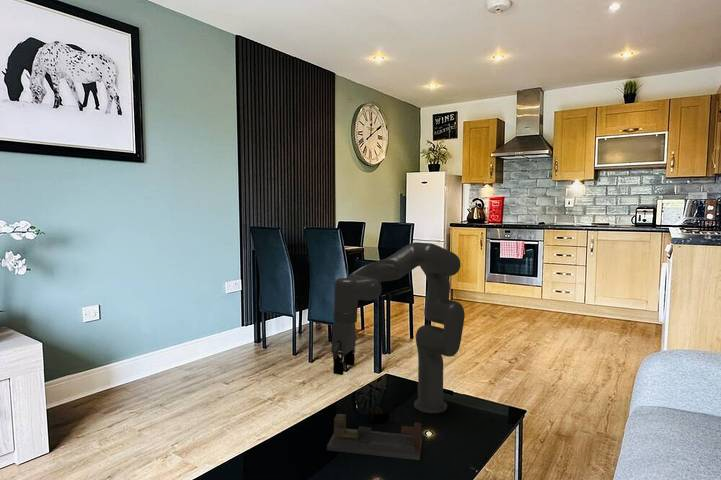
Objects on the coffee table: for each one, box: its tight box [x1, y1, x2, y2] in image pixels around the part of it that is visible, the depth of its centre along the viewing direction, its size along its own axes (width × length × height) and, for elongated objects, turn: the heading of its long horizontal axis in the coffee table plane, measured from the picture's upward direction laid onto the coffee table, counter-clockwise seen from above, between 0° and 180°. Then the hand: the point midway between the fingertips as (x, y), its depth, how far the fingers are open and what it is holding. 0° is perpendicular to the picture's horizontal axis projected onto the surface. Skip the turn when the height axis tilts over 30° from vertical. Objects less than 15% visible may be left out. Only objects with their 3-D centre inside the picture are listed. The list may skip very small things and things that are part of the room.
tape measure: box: [368, 406, 390, 423], centre depth 159 cm, size 7×7×4 cm
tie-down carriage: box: [333, 413, 372, 441], centre depth 142 cm, size 5×12×7 cm, turn 78°
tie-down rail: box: [326, 422, 423, 461], centre depth 140 cm, size 10×29×8 cm, turn 78°
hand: (344, 369), depth 142 cm, fingers open, 9 cm apart
